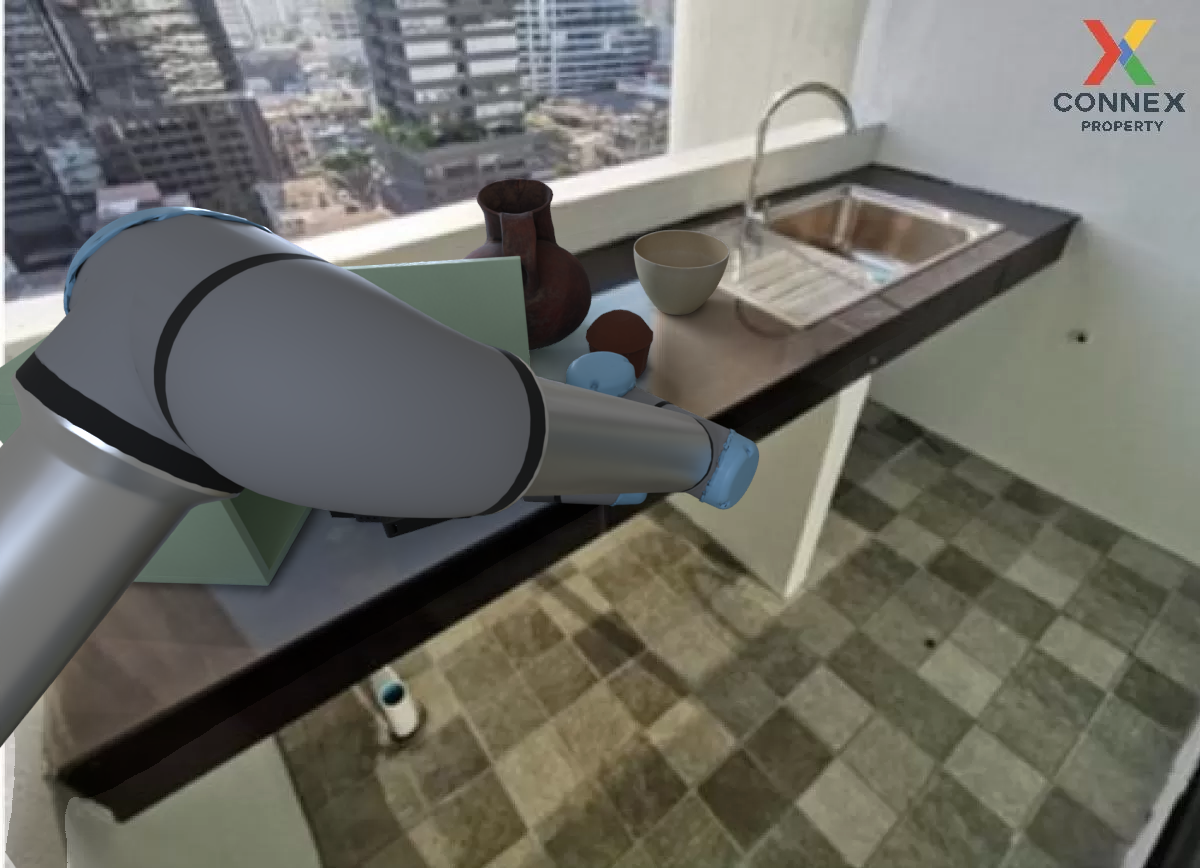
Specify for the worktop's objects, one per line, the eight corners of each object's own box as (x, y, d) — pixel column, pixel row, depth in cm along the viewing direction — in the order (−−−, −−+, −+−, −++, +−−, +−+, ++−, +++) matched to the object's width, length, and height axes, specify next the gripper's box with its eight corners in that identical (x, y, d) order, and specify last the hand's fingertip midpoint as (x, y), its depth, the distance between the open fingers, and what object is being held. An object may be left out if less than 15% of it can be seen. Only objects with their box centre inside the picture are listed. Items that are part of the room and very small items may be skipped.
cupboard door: (364, 412, 94) (312, 250, 78) (533, 398, 97) (518, 238, 80) (356, 440, 89) (299, 272, 72) (536, 424, 91) (520, 258, 75)
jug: (443, 369, 104) (413, 224, 88) (473, 302, 123) (453, 174, 107) (588, 372, 103) (584, 226, 87) (595, 304, 122) (593, 175, 106)
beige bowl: (621, 320, 117) (622, 260, 109) (643, 281, 130) (646, 225, 122) (714, 333, 113) (722, 272, 105) (727, 292, 126) (735, 234, 118)
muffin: (590, 349, 108) (588, 298, 102) (651, 351, 108) (654, 300, 101) (583, 386, 99) (581, 333, 93) (650, 389, 98) (653, 335, 92)
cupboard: (352, 439, 89) (293, 269, 73) (268, 585, 69) (160, 396, 52) (233, 436, 90) (148, 268, 73) (115, 581, 69) (-40, 393, 53)
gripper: (508, 573, 67) (319, 567, 67) (536, 431, 86) (389, 428, 87) (500, 526, 62) (297, 521, 63) (532, 388, 81) (377, 385, 82)
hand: (350, 467), depth 75 cm, fingers open, 13 cm apart
